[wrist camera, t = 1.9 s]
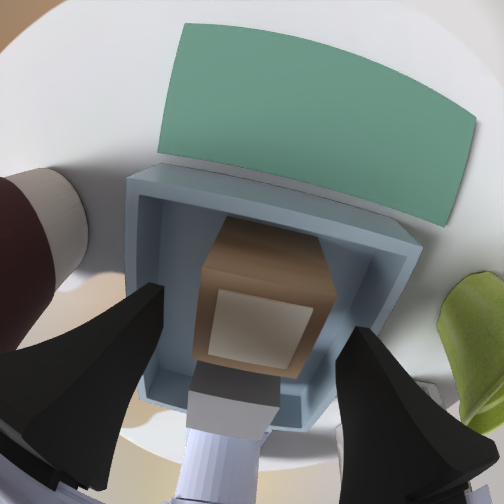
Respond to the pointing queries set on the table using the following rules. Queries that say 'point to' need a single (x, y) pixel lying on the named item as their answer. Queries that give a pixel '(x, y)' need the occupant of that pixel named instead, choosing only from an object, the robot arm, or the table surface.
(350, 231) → the bin
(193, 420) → the plain block
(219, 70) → the mat
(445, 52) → the table surface
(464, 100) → the table surface
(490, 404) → the plant pot
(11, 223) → the coffee cup
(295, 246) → the labelled block
